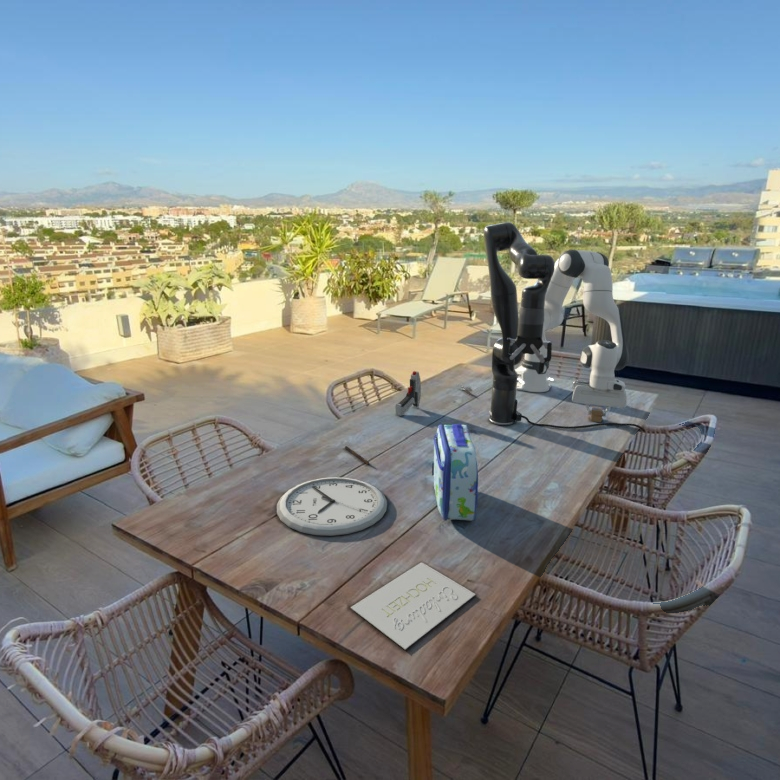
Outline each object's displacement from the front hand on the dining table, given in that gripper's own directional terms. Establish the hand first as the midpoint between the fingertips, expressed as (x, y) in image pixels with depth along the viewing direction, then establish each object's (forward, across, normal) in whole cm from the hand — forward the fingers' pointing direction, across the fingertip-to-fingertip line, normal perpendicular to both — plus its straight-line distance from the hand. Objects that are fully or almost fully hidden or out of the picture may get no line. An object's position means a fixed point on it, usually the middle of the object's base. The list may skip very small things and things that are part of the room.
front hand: (526, 372), depth 166 cm
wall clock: (+30, -43, -52) cm, 74 cm away
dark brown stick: (+30, -50, -20) cm, 62 cm away
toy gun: (+30, -48, +29) cm, 64 cm away
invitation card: (+30, -11, -80) cm, 86 cm away
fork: (+30, -32, +65) cm, 78 cm away
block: (+30, +25, +49) cm, 62 cm away
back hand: (+28, +25, +49) cm, 62 cm away
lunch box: (+30, -13, -38) cm, 50 cm away
